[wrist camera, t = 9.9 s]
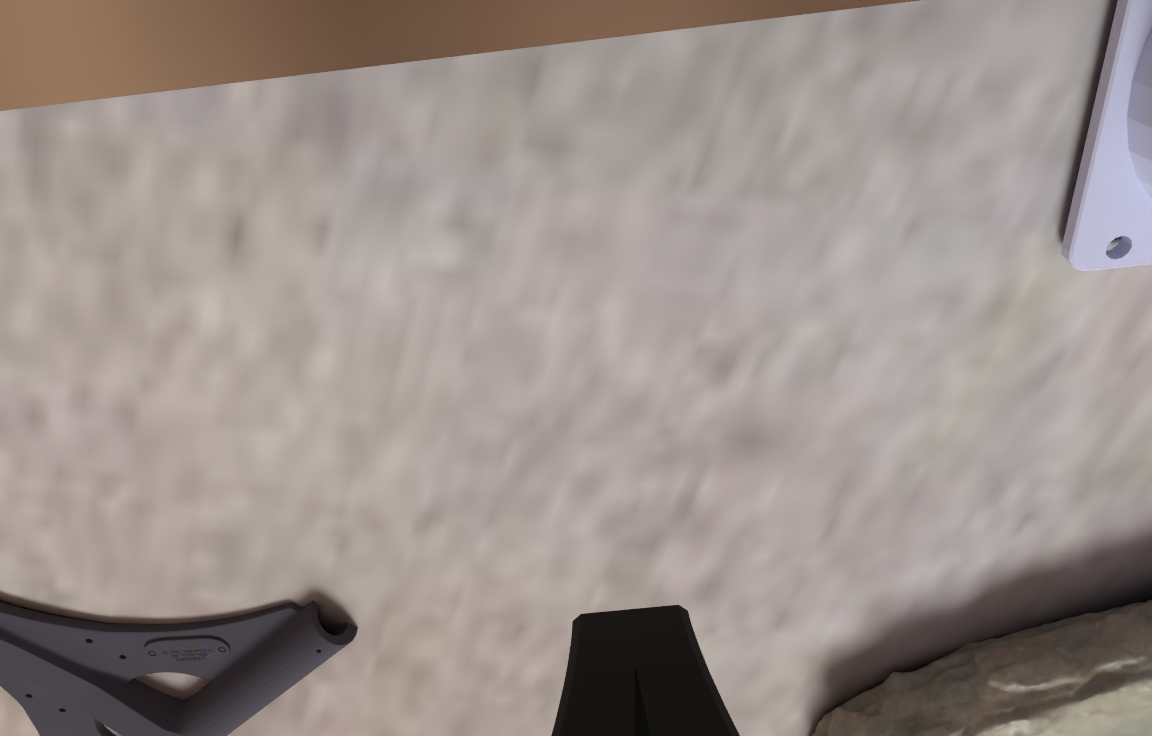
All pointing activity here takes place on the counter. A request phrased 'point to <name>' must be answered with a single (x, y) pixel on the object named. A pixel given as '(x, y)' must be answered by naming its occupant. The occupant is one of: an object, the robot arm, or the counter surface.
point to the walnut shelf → (307, 36)
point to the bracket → (157, 669)
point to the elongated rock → (1020, 685)
